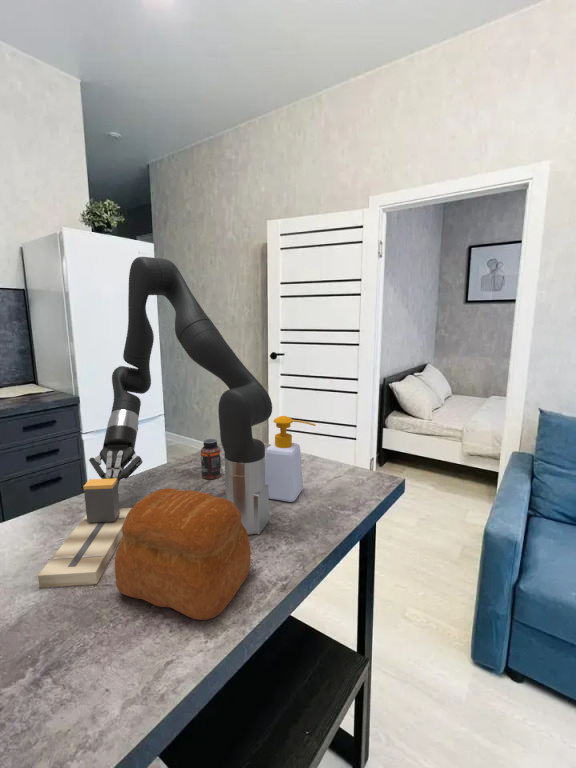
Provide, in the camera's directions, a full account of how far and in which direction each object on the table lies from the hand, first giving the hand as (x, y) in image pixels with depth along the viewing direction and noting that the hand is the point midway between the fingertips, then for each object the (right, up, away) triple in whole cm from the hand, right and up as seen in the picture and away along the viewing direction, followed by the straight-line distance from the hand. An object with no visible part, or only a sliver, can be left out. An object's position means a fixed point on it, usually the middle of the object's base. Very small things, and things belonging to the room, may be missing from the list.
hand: (109, 495), depth 94 cm
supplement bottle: (+19, -2, +26) cm, 33 cm away
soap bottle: (+43, -4, +14) cm, 46 cm away
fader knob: (0, -4, -4) cm, 6 cm away
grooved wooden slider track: (+1, -8, -10) cm, 13 cm away
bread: (+24, -11, -21) cm, 33 cm away
